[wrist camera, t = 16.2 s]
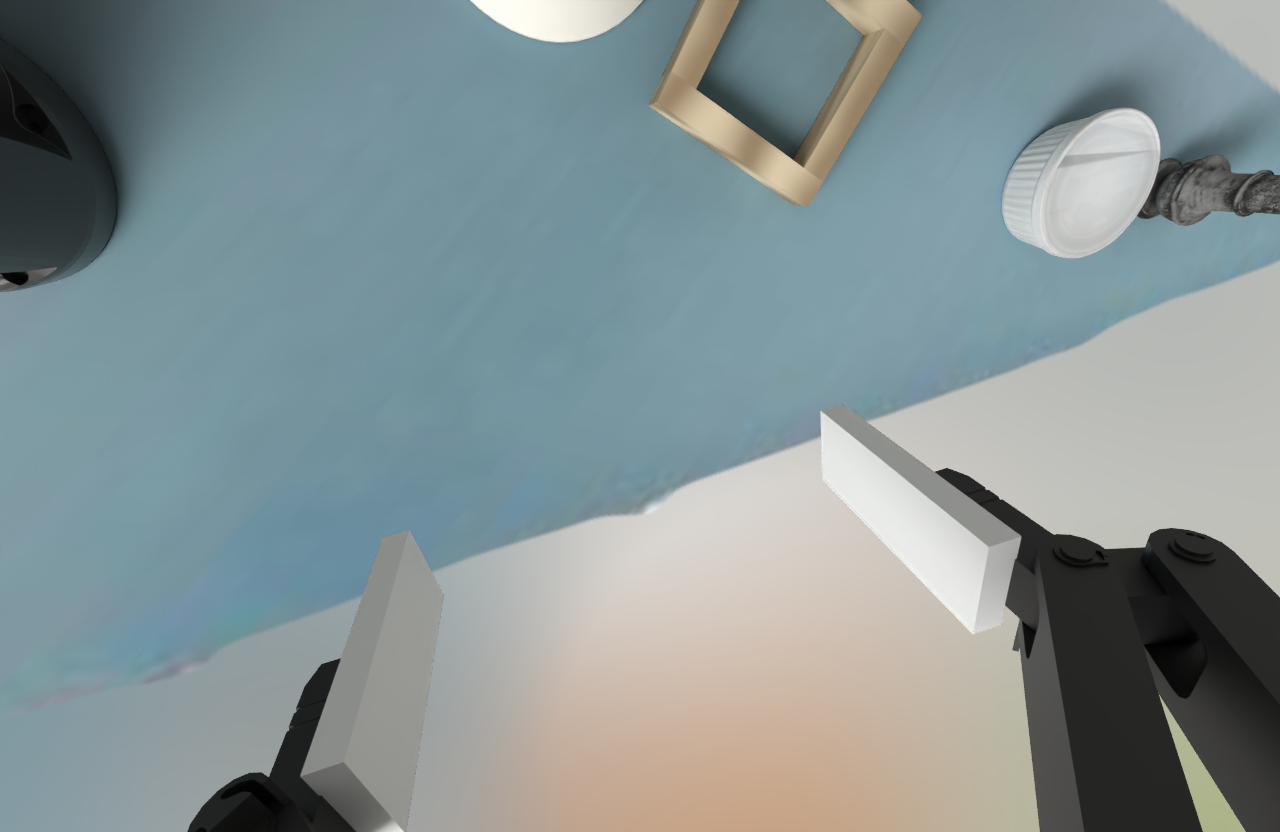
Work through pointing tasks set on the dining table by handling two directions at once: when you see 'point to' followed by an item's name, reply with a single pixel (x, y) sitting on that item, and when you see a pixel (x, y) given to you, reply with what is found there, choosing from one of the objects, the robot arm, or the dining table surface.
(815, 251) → the dining table surface
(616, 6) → the ceramic coaster
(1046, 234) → the ramekin
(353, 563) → the dining table surface
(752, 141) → the wooden square frame
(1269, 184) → the dark chess piece
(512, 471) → the dining table surface
